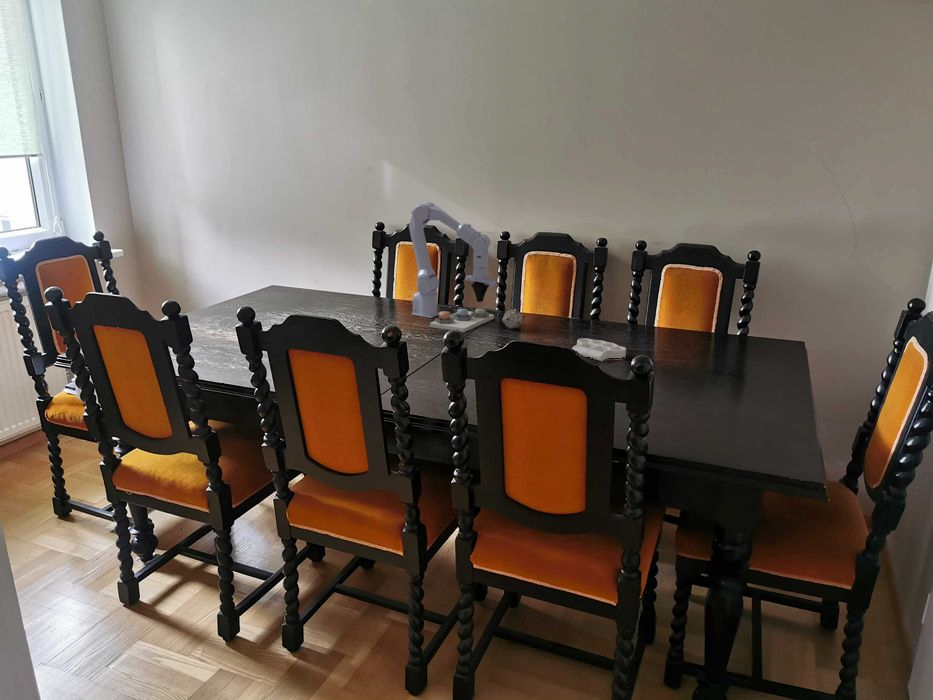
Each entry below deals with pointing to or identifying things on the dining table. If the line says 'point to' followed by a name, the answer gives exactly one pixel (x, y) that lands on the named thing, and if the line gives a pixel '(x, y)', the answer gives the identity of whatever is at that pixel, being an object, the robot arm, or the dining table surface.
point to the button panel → (462, 321)
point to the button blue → (462, 312)
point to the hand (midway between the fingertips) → (479, 301)
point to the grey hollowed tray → (599, 349)
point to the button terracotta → (444, 315)
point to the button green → (479, 311)
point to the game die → (512, 318)
